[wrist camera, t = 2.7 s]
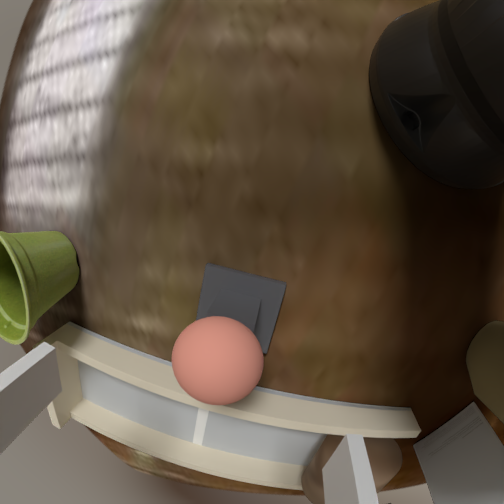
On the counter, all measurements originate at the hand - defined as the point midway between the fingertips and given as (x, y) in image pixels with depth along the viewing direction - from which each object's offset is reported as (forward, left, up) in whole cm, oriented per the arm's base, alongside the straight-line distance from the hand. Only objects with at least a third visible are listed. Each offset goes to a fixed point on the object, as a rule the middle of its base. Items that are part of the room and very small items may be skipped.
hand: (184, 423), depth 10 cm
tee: (0, 0, -13) cm, 13 cm away
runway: (+12, +1, -13) cm, 18 cm away
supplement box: (+12, +29, -13) cm, 34 cm away
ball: (0, 0, -5) cm, 5 cm away
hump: (+12, +14, -13) cm, 23 cm away
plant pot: (+1, -18, -13) cm, 22 cm away
